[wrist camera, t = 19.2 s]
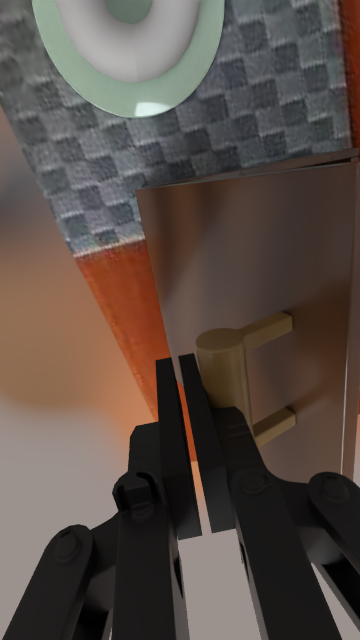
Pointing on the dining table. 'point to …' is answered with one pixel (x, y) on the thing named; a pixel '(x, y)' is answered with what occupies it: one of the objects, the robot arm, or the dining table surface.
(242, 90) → the dining table surface
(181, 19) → the donut
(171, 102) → the saucer
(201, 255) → the lid
